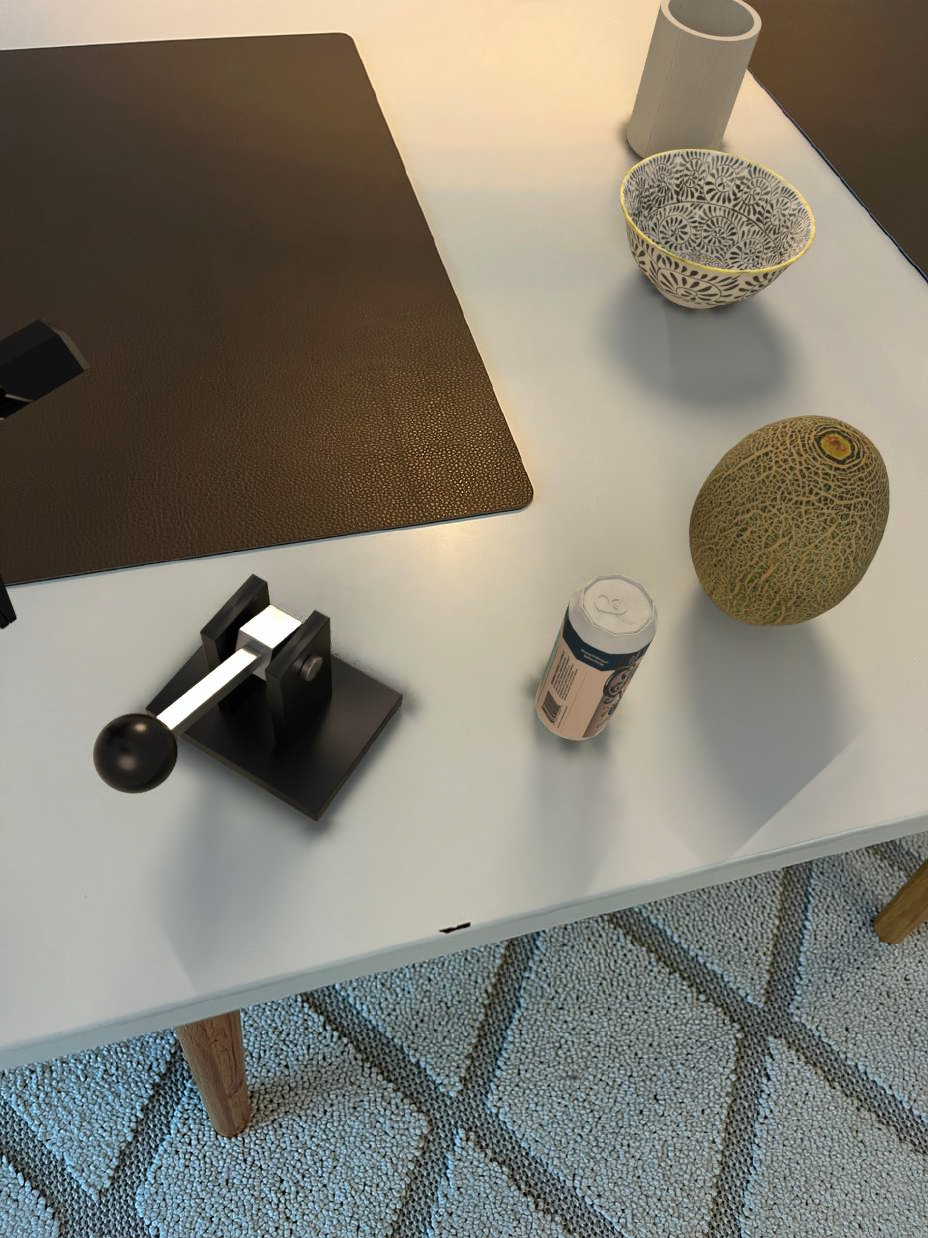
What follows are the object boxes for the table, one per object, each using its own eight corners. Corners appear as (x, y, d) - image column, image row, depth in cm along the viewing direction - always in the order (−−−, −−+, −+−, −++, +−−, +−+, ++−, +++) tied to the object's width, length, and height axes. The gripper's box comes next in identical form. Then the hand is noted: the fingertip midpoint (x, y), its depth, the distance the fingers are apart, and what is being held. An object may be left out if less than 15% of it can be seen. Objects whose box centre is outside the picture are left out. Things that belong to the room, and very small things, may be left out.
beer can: (606, 750, 58) (661, 652, 48) (529, 736, 58) (568, 634, 48) (611, 682, 60) (665, 575, 50) (538, 668, 60) (576, 558, 50)
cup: (608, 132, 94) (640, 2, 84) (669, 107, 98) (707, -21, 88) (674, 180, 91) (715, 50, 81) (735, 151, 94) (781, 24, 84)
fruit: (631, 562, 66) (698, 406, 53) (748, 501, 70) (835, 344, 57) (740, 688, 61) (842, 551, 49) (858, 615, 65) (980, 471, 53)
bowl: (668, 367, 77) (696, 290, 70) (566, 248, 83) (584, 169, 77) (816, 318, 82) (855, 242, 76) (709, 210, 89) (736, 133, 82)
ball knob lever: (137, 823, 42) (142, 771, 40) (74, 782, 43) (75, 728, 40) (305, 669, 52) (316, 620, 50) (252, 637, 53) (261, 588, 50)
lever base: (316, 822, 53) (311, 750, 45) (148, 717, 56) (113, 630, 48) (402, 703, 58) (411, 618, 50) (243, 610, 60) (226, 514, 52)
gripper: (-597, 398, 26) (-172, 804, 32) (-5, 138, 35) (237, 496, 41) (-515, 445, 35) (-194, 756, 41) (-60, 228, 43) (147, 511, 50)
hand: (8, 624), depth 43 cm, fingers closed
